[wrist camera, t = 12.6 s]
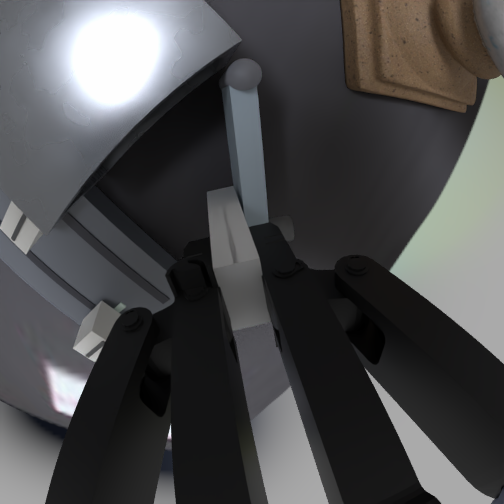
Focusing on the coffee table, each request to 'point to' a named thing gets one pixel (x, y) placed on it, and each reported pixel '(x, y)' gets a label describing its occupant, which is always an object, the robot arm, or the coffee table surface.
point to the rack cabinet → (92, 88)
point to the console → (92, 260)
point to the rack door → (248, 143)
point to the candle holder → (423, 48)
